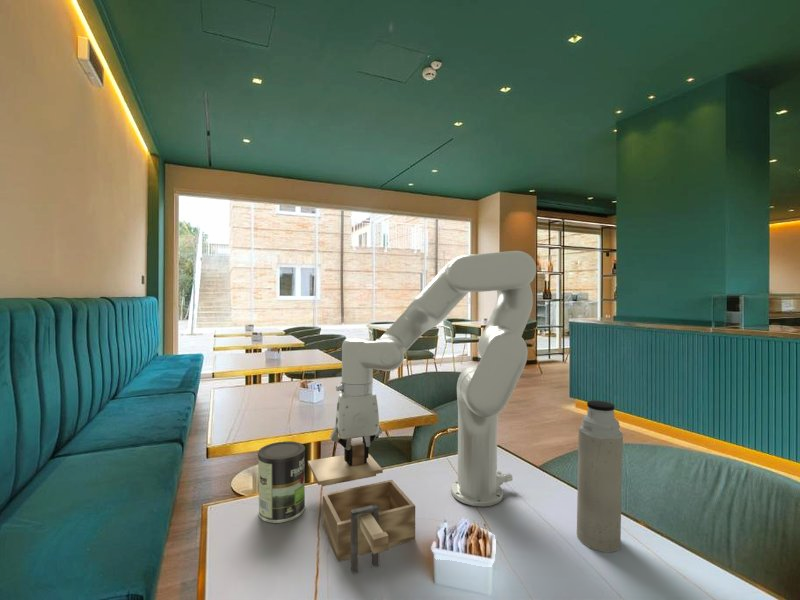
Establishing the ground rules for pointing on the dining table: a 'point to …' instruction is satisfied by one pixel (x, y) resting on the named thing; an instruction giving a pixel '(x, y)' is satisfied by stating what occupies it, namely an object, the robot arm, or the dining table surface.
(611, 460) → the thermos bottle
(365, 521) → the tan rectangular block
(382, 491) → the wooden box
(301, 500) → the coffee can
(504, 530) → the dining table surface
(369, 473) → the lid
